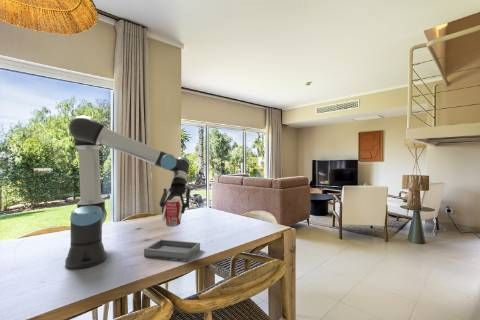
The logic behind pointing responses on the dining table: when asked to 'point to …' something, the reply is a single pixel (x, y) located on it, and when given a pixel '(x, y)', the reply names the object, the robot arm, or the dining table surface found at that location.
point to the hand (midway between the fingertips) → (171, 218)
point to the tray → (172, 249)
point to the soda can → (172, 213)
